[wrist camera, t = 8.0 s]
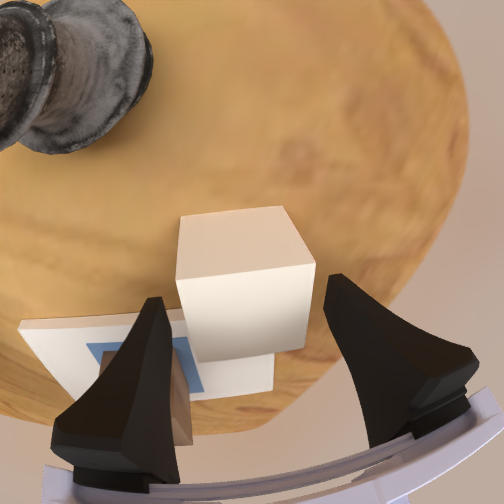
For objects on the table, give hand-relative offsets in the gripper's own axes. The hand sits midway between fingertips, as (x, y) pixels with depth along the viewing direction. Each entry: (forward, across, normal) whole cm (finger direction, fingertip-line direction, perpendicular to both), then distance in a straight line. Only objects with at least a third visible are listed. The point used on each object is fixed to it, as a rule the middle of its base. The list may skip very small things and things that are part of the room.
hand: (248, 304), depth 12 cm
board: (+4, +7, +8) cm, 12 cm away
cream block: (+4, 0, 0) cm, 4 cm away
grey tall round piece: (+4, +6, -10) cm, 12 cm away
